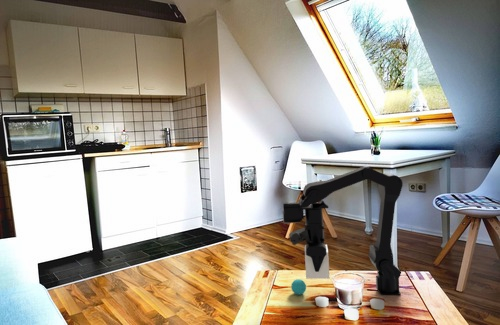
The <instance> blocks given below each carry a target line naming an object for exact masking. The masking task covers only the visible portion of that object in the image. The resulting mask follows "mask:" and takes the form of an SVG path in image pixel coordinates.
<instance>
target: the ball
mask: <svg viewBox="0 0 500 325" xmlns="http://www.w3.org/2000/svg"><path fill="white" fill-rule="evenodd" d="M290 288H291V291H292V293H294V294H295V295H299V296H300V295H303V294H304V293H305V292H306V290H307V284H306V282H305V281H304V280H303V279H300V278H299V279H298V278H297V279H294V280H293V281H292V283H291V287H290Z"/></svg>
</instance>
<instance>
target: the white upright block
mask: <svg viewBox="0 0 500 325" xmlns="http://www.w3.org/2000/svg"><path fill="white" fill-rule="evenodd" d="M306 245H307V244H304V263H305V264H304V265H305V275H306V276H305V278H306V279H307V280H309V279H311V280H312V279H317V280H318V279H322V280H323V279H325V280H326V279H330V278H331V277H330V260H329V248H328V244H324V245H325V246H326V256H325V257H324V260H323V262H322V264H321V267H320V270H319V272H315V268H314V265H313V261H312V258H311V257H310V256H307V255H306Z"/></svg>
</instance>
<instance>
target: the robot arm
mask: <svg viewBox="0 0 500 325" xmlns="http://www.w3.org/2000/svg"><path fill="white" fill-rule="evenodd" d="M366 180H368V181H371V182H374V183H376V184H377V187H378V193H379V198H380V203H379V204H380V205H379V213H378V214H379V215H378V222H377V231H376V232H377V233H376V240H375V243H374V244H373V245H372V244H370V245H369V253H368V255H367V256H368V257H369V259H370V262H371V264H373V266H374V267H375V268H376V270H377V272H376V273H377V275H375V287H376V290H377V291H378V292H379V295H381V296H383V295H384V296H386V295H387V296H389V295H390V296H393V295H395V296H398V295H399V296H400V295H401V294H402V292H401V291H400V277H401V274H402V271H401V270H400V268H398V266H396V265H395V263H394V255H393V254H394V253H393V249H392V244H391V243H392V236H393V227H394V218H395V217H394V216H395V208H396V207H395V206H396V202H397V201H398V199H399V197H400V195H401V193H402V189H403V186H404V185H403V180H402V179H401V178H400V177H399V176H398V175H396V174H393V173H390V172H385V173H382V172H381V171H377V170H375V169H373V168H372V167H371V166H368V165H362V166H361V167H359V168H355V169H353V170H351V171H348V172H345V173H344V174H341V175H338V176H335V177H332V178H330V179H327V180H319V181H318V180H317V181H314V182H313V181H312V182H309V183H307V184H305V185H304V187H303V190H302V191H303V193H302V194H301V196H300V197H299V199H298V201H296V202H282V221H283V224H297V223H301V222H303V220H305V224H304V227H303V228H298V229H296V230H294V231H291V232H289V234H288V235H289V236H288V237H289V241H290V242H291V244H292V246H296V245H297V244H299V243H302V242H304V241H305V243H306V244H305V245H306V255H307V256H310V257H311V258H312V261H313V265H314V268H315V272H319V270H320V267H321V264H322V262H323V260H324V257H325V256H326V246H325V245H326V244H325V233H324V228H325V226H324V219H323V218H324V214H323V209H329V205H328V204H327V203H326V202H325V201H324V199H326V198H327V197H328V196H331V194H332V193H335V192H337V191H340V190H342V189H345V188H347V187H350V186H352V185H355V184H358V183H360V182H361V183H362V181H363V182H364V181H366ZM304 214H305V215H304ZM304 216H305V217H304ZM304 218H305V219H304Z"/></svg>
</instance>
